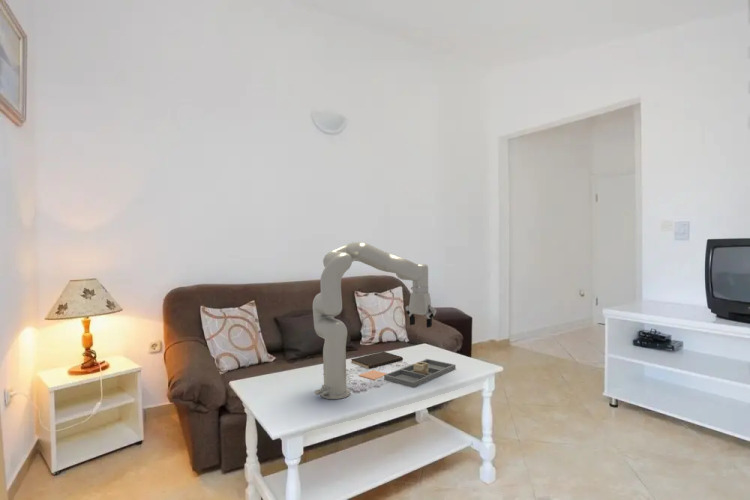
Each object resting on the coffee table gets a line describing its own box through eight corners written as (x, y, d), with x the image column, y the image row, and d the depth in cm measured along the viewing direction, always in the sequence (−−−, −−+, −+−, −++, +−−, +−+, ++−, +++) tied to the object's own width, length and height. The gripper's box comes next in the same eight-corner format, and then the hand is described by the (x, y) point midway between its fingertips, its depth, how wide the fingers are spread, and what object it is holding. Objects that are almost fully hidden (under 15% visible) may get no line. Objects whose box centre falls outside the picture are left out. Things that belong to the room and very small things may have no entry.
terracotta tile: (374, 380, 190) (374, 379, 190) (358, 376, 197) (358, 375, 197) (388, 375, 197) (388, 373, 197) (373, 371, 204) (372, 370, 204)
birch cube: (422, 376, 193) (422, 365, 193) (413, 374, 197) (413, 363, 196) (428, 373, 197) (428, 363, 197) (419, 371, 200) (419, 361, 200)
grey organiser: (413, 388, 178) (413, 382, 178) (384, 380, 190) (384, 375, 190) (455, 369, 203) (455, 364, 203) (427, 363, 215) (427, 358, 215)
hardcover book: (350, 363, 220) (350, 359, 220) (384, 355, 235) (383, 351, 235) (369, 370, 208) (369, 365, 208) (402, 361, 222) (402, 357, 222)
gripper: (401, 289, 200) (401, 324, 200) (431, 291, 188) (431, 329, 188) (410, 288, 205) (410, 322, 205) (440, 290, 194) (440, 326, 194)
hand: (420, 325), depth 197 cm, fingers open, 9 cm apart
